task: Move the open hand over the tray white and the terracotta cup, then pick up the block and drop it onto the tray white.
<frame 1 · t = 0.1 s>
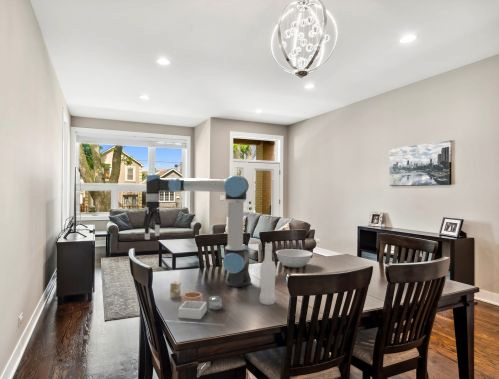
hand: (152, 237, 196), 28 cm above the table, fingers open, 13 cm apart
block: (175, 298, 176), on the table
tray white: (192, 316, 153), on the table
terracotta cup: (192, 305, 165), on the table, touching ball
bowl: (293, 266, 250), on the table
tin: (215, 308, 161), on the table
bottle: (267, 302, 171), on the table
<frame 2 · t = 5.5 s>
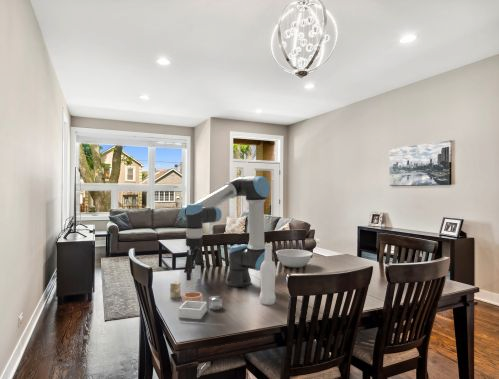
hand: (193, 282, 156), 14 cm above the table, fingers open, 13 cm apart
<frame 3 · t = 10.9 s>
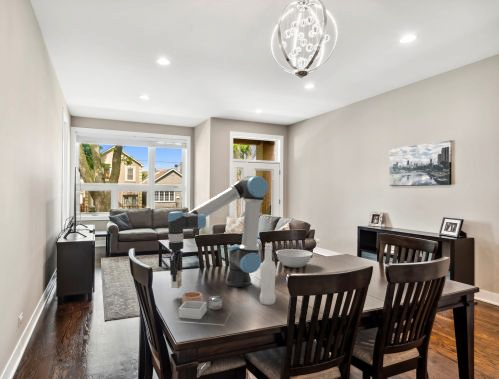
hand: (176, 285, 176), 6 cm above the table, fingers closed on block, 4 cm apart
block: (176, 286, 176), point 6 cm above the table, touching gripper
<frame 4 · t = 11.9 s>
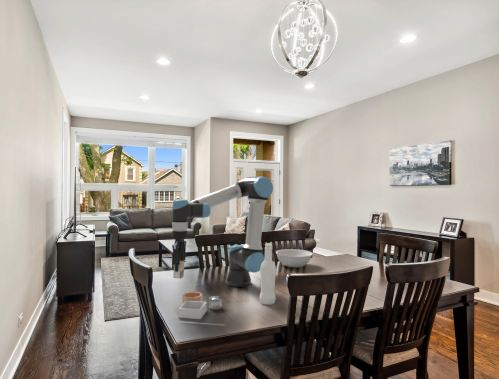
hand: (178, 276, 170), 13 cm above the table, fingers closed on block, 4 cm apart
block: (178, 277, 170), point 12 cm above the table, touching gripper
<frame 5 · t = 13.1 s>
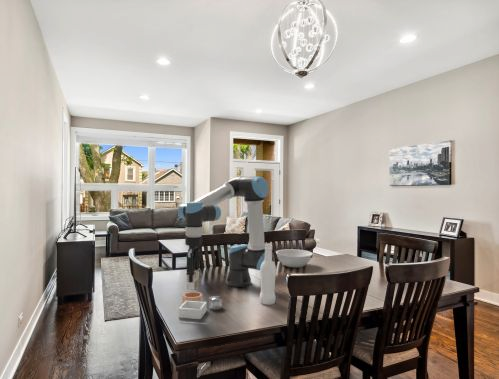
hand: (193, 287, 153), 13 cm above the table, fingers closed on block, 4 cm apart
block: (192, 288, 153), point 12 cm above the table, touching gripper
when the fingers open (6 cm above the table, at t = 14.5 s): block drops 5 cm, resting on tray white.
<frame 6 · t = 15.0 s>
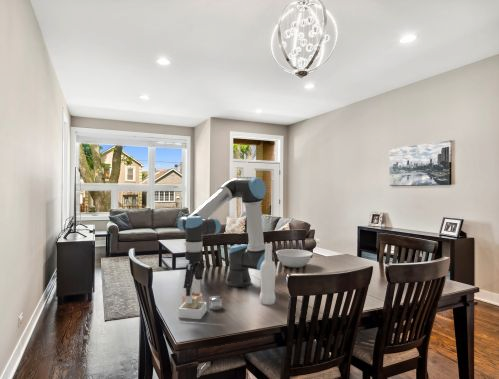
hand: (193, 298, 152), 8 cm above the table, fingers open, 12 cm apart
block: (192, 314, 153), resting on tray white
tray white: (192, 316, 153), on the table, touching block
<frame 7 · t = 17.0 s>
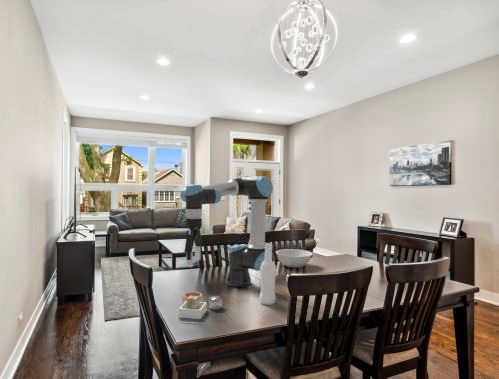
hand: (193, 263, 157), 23 cm above the table, fingers open, 13 cm apart
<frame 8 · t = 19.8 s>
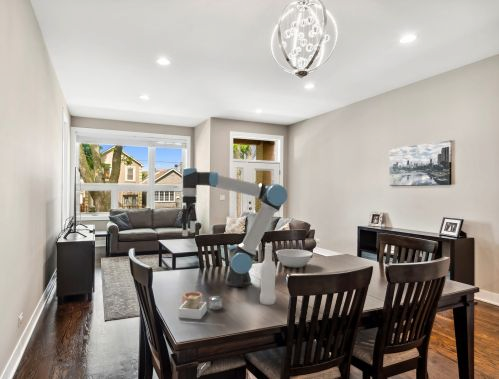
hand: (188, 234, 187), 32 cm above the table, fingers open, 13 cm apart
at the end: block inside the target area on the tray white (0.1 cm from its centre), point 0.7 cm above the tray white's base; the gripper is holding nothing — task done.
